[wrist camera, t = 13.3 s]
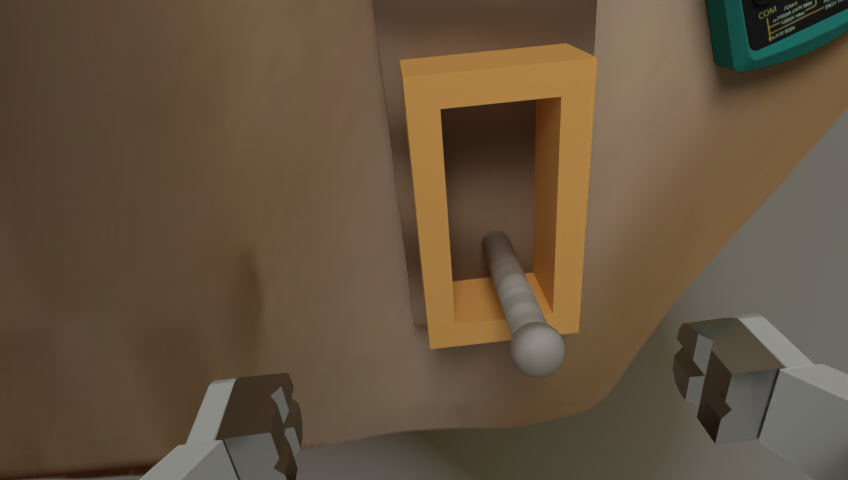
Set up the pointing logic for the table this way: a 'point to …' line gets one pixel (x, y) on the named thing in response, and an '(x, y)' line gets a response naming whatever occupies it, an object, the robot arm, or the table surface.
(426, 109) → the orange rectangular frame
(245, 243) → the table surface
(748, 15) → the digital multimeter
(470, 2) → the keeper board
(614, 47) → the table surface
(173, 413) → the table surface
